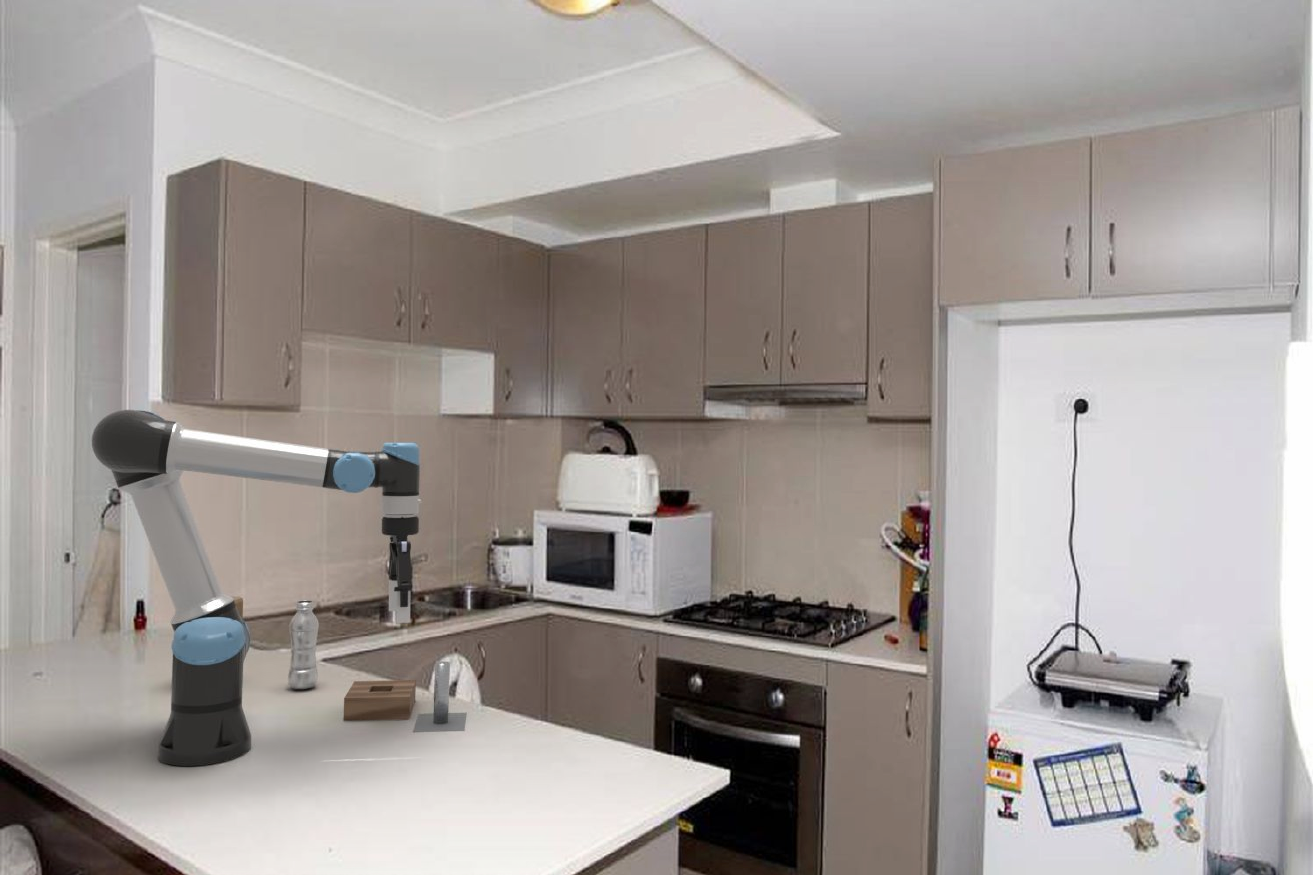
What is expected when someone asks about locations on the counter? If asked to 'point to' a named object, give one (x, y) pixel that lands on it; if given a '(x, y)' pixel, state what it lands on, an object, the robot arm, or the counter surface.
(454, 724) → the rubber mat
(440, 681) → the steel pin
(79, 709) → the counter surface
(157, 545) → the robot arm
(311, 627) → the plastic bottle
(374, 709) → the walnut socket block
